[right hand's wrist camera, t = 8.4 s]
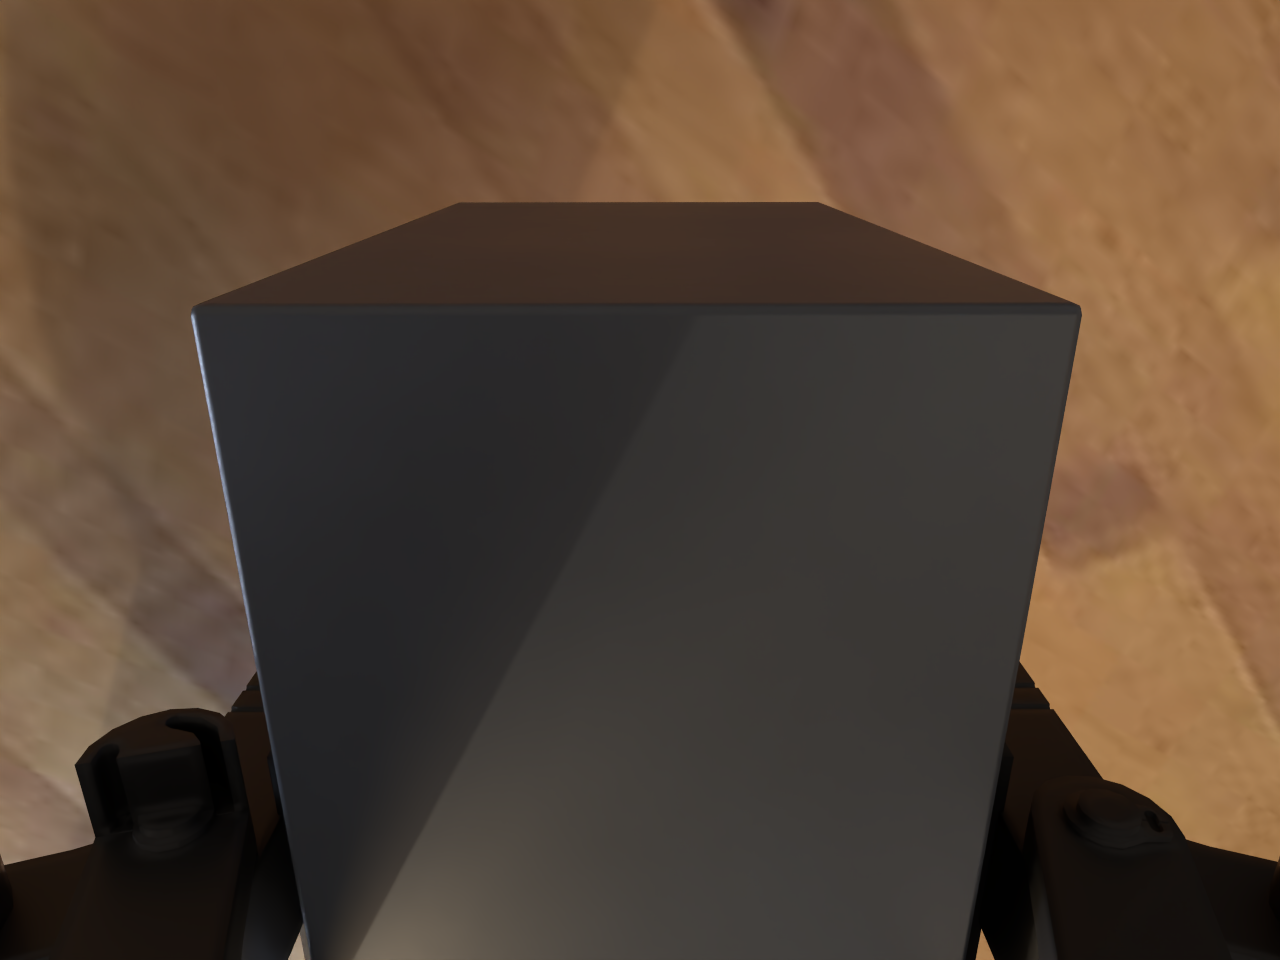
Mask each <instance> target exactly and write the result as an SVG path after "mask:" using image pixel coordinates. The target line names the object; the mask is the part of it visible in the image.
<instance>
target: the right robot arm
mask: <svg viewBox="0 0 1280 960" xmlns="http://www.w3.org/2000/svg"><path fill="white" fill-rule="evenodd" d="M75 768H76V771H77V775H78V778H79V782H80V785H81V789H82V792H83V796H84V799H85V803H86V806H87V809H88V813H89V816H90V820H91V823H92V827H93V830H94V834H95V837H96V838H95V840H94V843H93V844H91V845H87V846H84V847H80V848H77V849H74V850H70V851H65V852H61V853H56V854H52V855H47V856H43V857H39V858H34V859H30V860H25V861H21V862H16V863H12V864H8V865H4V864H3V861H2V858H1V855H0V960H288V958H289V956H290V953H291V951H292V949H293V946H294V944H295V942H296V939H297V937H298V934H299V932H300V935H301V940H302V945H303V951H304V956H305V960H311V959H310V953H309V948H308V943H307V937H306V932H305V927H304V921H303V916H302V910H301V905H300V900H299V894H298V889H297V884H296V878H295V873H294V867H293V862H292V857H291V851H290V846H289V841H288V835H287V830H286V824H285V819H284V814H283V808H282V803H281V798H280V792H279V787H278V782H277V776H276V771H275V765H274V760H273V755H272V749H271V744H270V739H269V733H268V728H267V722H266V717H265V712H264V706H263V701H262V696H261V690H260V685H259V679H258V674H257V672H256V673H255V675H254V676H253V677H252V679H251V680H250V682H249V683H248V684H247V689H246V691H243V692H242V693H241V694H240V696H239V697H238V699H237V700H236V701H235V703H234V704H233V706H232V711H231V712H228V713H227V714H226V716H225V717H224V716H223V715H221V714H220V713H217V712H213V711H209V710H204V709H200V708H189V709H170V710H166V711H162V712H158V713H154V714H150V715H146V716H142V717H139V718H137V719H135V720H133V721H130V722H128V723H126V724H124V725H122V726H119V727H117V728H115V729H113V730H111V731H110V732H108V733H107V734H106V735H104V736H103V737H101V738H100V739H99V740H97V741H96V742H94V743H93V744H92V745H90V746H89V747H88V748H87V750H86V751H85V752H84V754H83V755H82V756H81V757H80V759H79V760H78V761H77V763H76V764H75ZM981 929H982V931H983V933H984V936H985V938H986V940H987V943H988V945H989V947H990V950H991V952H992V954H993V957H994V959H995V960H1280V858H1279V861H1278V862H1276V861H1272V860H1267V859H1263V858H1258V857H1254V856H1249V855H1245V854H1240V853H1236V852H1232V851H1227V850H1223V849H1218V848H1214V847H1209V846H1206V845H1203V844H1199V843H1196V842H1192V841H1189V840H1186V839H1185V836H1184V835H1183V833H1182V832H1181V830H1180V829H1179V827H1178V826H1177V824H1176V823H1175V821H1174V820H1173V818H1172V817H1171V816H1170V815H1169V814H1168V813H1166V812H1165V811H1164V810H1163V809H1162V808H1160V807H1159V806H1158V805H1157V804H1155V803H1154V802H1153V801H1152V800H1151V799H1149V798H1147V797H1145V796H1143V795H1141V794H1139V793H1137V792H1136V791H1134V790H1132V789H1130V788H1128V787H1126V786H1124V785H1121V784H1118V783H1114V782H1111V781H1107V780H1103V778H1102V777H1101V775H1100V774H1099V773H1098V771H1097V770H1096V768H1095V767H1094V766H1093V764H1092V763H1091V761H1090V760H1089V759H1088V757H1087V756H1086V754H1085V753H1084V752H1083V750H1082V749H1081V747H1080V746H1079V745H1078V743H1077V742H1076V740H1075V739H1074V737H1073V736H1072V735H1071V733H1070V732H1069V730H1068V729H1067V728H1066V726H1065V725H1064V723H1063V722H1062V721H1061V719H1060V718H1059V716H1058V715H1057V714H1056V712H1055V711H1054V709H1050V704H1049V702H1048V701H1047V700H1046V698H1045V697H1044V695H1043V694H1042V692H1041V691H1040V690H1039V688H1035V683H1034V681H1033V680H1032V678H1031V677H1030V676H1029V674H1028V673H1027V671H1026V670H1025V669H1024V667H1023V666H1022V664H1021V663H1020V662H1019V666H1018V671H1017V677H1016V682H1015V688H1014V693H1013V699H1012V704H1011V710H1010V716H1009V721H1008V727H1007V732H1006V738H1005V743H1004V749H1003V754H1002V760H1001V765H1000V771H999V776H998V782H997V787H996V793H995V799H994V804H993V810H992V815H991V821H990V826H989V832H988V837H987V843H986V848H985V854H984V859H983V865H982V870H981V876H980V882H979V887H978V893H977V898H976V904H975V909H974V915H973V920H972V926H971V931H970V937H969V942H968V948H967V954H966V959H965V960H975V959H976V954H977V949H978V944H979V938H980V933H981Z"/></svg>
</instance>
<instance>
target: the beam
mask: <svg viewBox="0 0 1280 960" xmlns="http://www.w3.org/2000/svg"><path fill="white" fill-rule="evenodd" d="M1081 317H1082V313H1081V308H1080V306H1079V305H1077V304H1075V303H1072V302H1070V301H1067V300H1065V299H1062V298H1060V297H1057V296H1055V295H1052V294H1050V293H1047V292H1045V291H1042V290H1040V289H1037V288H1035V287H1032V286H1029V285H1027V284H1024V283H1022V282H1019V281H1017V280H1014V279H1012V278H1009V277H1007V276H1004V275H1002V274H999V273H996V272H994V271H991V270H989V269H986V268H984V267H981V266H979V265H976V264H974V263H971V262H969V261H966V260H964V259H961V258H958V257H956V256H953V255H951V254H948V253H946V252H943V251H941V250H938V249H936V248H933V247H931V246H928V245H925V244H923V243H920V242H918V241H915V240H913V239H910V238H908V237H905V236H903V235H900V234H898V233H895V232H893V231H890V230H887V229H885V228H882V227H880V226H877V225H875V224H872V223H870V222H867V221H865V220H862V219H860V218H857V217H854V216H852V215H849V214H847V213H844V212H842V211H839V210H837V209H834V208H832V207H829V206H827V205H824V204H822V203H819V202H571V203H457V204H455V205H452V206H449V207H447V208H444V209H442V210H439V211H437V212H434V213H431V214H429V215H426V216H424V217H421V218H419V219H416V220H413V221H411V222H408V223H406V224H403V225H401V226H398V227H395V228H393V229H390V230H388V231H385V232H383V233H380V234H377V235H375V236H372V237H370V238H367V239H365V240H362V241H359V242H357V243H354V244H352V245H349V246H347V247H344V248H341V249H339V250H336V251H334V252H331V253H329V254H326V255H323V256H321V257H318V258H316V259H313V260H311V261H308V262H305V263H303V264H300V265H298V266H295V267H293V268H290V269H287V270H285V271H282V272H280V273H277V274H275V275H272V276H269V277H267V278H264V279H262V280H259V281H257V282H254V283H251V284H249V285H246V286H244V287H241V288H239V289H236V290H233V291H231V292H228V293H226V294H223V295H221V296H218V297H215V298H213V299H210V300H208V301H205V302H203V303H200V304H198V305H196V306H193V308H192V312H191V320H192V325H193V330H194V336H195V341H196V346H197V352H198V357H199V363H200V368H201V373H202V379H203V384H204V389H205V395H206V400H207V405H208V411H209V416H210V422H211V427H212V432H213V438H214V443H215V448H216V454H217V459H218V465H219V470H220V475H221V481H222V486H223V491H224V497H225V502H226V508H227V513H228V518H229V524H230V529H231V534H232V540H233V545H234V551H235V556H236V561H237V567H238V572H239V577H240V583H241V588H242V594H243V599H244V604H245V610H246V615H247V620H248V626H249V631H250V636H251V642H252V647H253V653H254V658H255V663H256V669H257V674H258V679H259V685H260V690H261V696H262V701H263V706H264V712H265V717H266V722H267V728H268V733H269V739H270V744H271V749H272V755H273V760H274V765H275V771H276V776H277V782H278V787H279V792H280V798H281V803H282V808H283V814H284V819H285V824H286V830H287V835H288V841H289V846H290V851H291V857H292V862H293V867H294V873H295V878H296V884H297V889H298V894H299V900H300V905H301V910H302V916H303V921H304V927H305V932H306V937H307V943H308V948H309V953H310V959H311V960H965V959H966V954H967V948H968V942H969V937H970V931H971V926H972V920H973V915H974V909H975V904H976V898H977V893H978V887H979V882H980V876H981V870H982V865H983V859H984V854H985V848H986V843H987V837H988V832H989V826H990V821H991V815H992V810H993V804H994V799H995V793H996V787H997V782H998V776H999V771H1000V765H1001V760H1002V754H1003V749H1004V743H1005V738H1006V732H1007V727H1008V721H1009V716H1010V710H1011V704H1012V699H1013V693H1014V688H1015V682H1016V677H1017V671H1018V666H1019V660H1020V655H1021V649H1022V644H1023V638H1024V632H1025V627H1026V621H1027V616H1028V610H1029V605H1030V599H1031V594H1032V588H1033V583H1034V577H1035V572H1036V566H1037V561H1038V555H1039V549H1040V544H1041V538H1042V533H1043V527H1044V522H1045V516H1046V511H1047V505H1048V500H1049V494H1050V489H1051V483H1052V477H1053V472H1054V466H1055V461H1056V455H1057V450H1058V444H1059V439H1060V433H1061V428H1062V422H1063V417H1064V411H1065V406H1066V400H1067V394H1068V389H1069V383H1070V378H1071V372H1072V367H1073V361H1074V356H1075V350H1076V345H1077V339H1078V334H1079V328H1080V322H1081Z"/></svg>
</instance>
